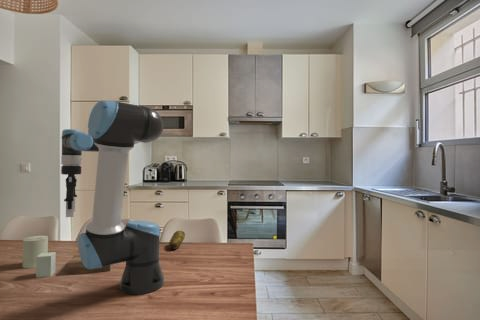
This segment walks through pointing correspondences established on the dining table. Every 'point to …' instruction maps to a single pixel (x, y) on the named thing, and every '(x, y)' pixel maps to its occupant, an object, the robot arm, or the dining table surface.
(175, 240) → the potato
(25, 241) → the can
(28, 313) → the dining table surface
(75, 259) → the walnut block
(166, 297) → the dining table surface
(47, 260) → the sage block
